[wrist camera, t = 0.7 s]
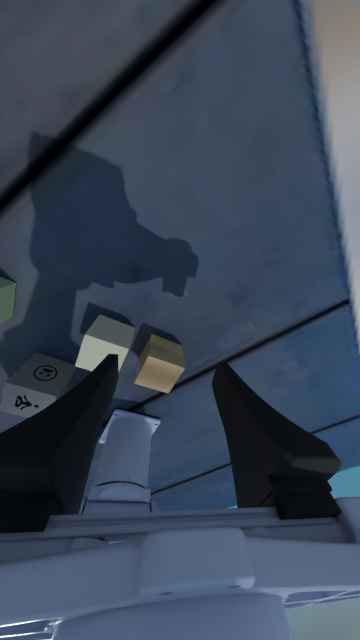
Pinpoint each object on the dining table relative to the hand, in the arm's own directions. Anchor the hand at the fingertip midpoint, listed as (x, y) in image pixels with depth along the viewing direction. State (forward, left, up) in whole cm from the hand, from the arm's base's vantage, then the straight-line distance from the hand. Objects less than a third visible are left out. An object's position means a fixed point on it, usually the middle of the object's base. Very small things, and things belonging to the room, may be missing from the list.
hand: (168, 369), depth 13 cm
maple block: (-6, -2, -10) cm, 11 cm away
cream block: (-6, +5, -10) cm, 12 cm away
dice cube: (-15, +10, -10) cm, 21 cm away
